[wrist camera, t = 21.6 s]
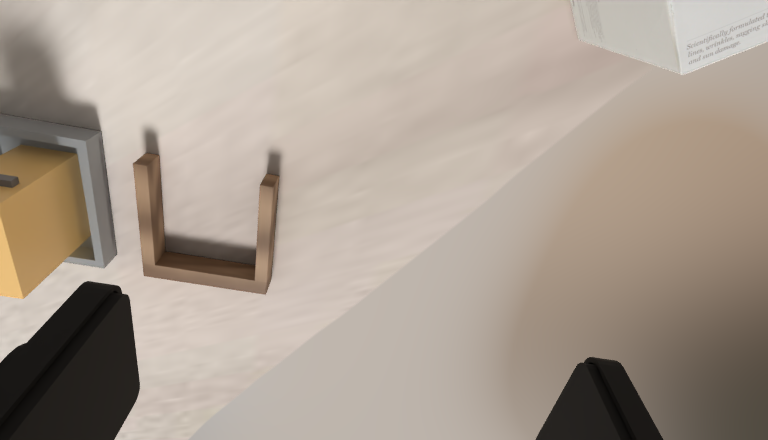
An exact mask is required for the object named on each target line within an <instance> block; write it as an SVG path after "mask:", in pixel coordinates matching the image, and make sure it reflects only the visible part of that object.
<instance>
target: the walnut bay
mask: <svg viewBox="0 0 768 440" xmlns="http://www.w3.org/2000/svg"><path fill="white" fill-rule="evenodd" d="M133 168H134V178H135V189H136V199H137V210H138V220H139V230H140V241H141V251H142V262H143V272H144V276H148V277H154V278H161V279H167V280H174V281H180V282H187V283H193V284H200V285H206V286H213V287H220V288H226V289H233V290H239V291H246V292H252V293H259V294H265V295H266V292H267V290H268V287H269V284H270V282H271V276H272V263H273V250H274V237H275V224H276V211H277V198H278V185H279V176H276V175H271V174H266V176H265V177H264V179H263V181H262V183H261V184H260V194H259V212H258V231H257V249H256V265H249V264H243V263H237V262H230V261H224V260H217V259H211V258H205V257H198V256H192V255H186V254H179V253H173V252H167V251H165V237H164V221H163V206H162V190H161V175H160V159H159V155H155V154H149V153H146V154H144V155H143V156H142V157H141V158H139V159H138V160H137V161H136V162H135V163H133Z"/></svg>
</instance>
